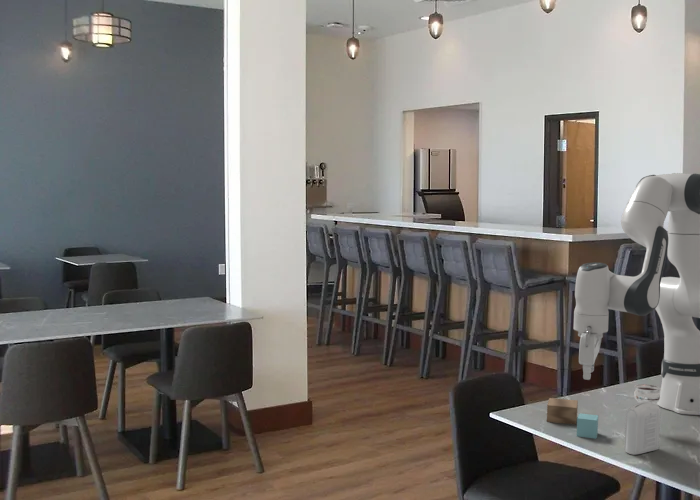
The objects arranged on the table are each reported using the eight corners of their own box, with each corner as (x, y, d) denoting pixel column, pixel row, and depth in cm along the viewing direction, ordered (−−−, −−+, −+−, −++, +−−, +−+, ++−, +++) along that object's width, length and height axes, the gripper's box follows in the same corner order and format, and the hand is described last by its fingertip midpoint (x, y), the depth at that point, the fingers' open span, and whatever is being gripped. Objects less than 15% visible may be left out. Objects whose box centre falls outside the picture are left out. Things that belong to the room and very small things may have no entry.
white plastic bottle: (647, 444, 205) (649, 398, 204) (661, 449, 202) (663, 401, 201) (621, 451, 200) (623, 403, 199) (636, 456, 196) (637, 407, 195)
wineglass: (627, 427, 219) (628, 385, 218) (646, 425, 222) (648, 383, 221) (644, 435, 213) (645, 391, 212) (664, 432, 215) (666, 389, 214)
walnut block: (577, 417, 230) (577, 400, 229) (576, 425, 222) (576, 407, 222) (548, 414, 232) (549, 397, 232) (546, 422, 225) (547, 405, 224)
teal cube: (597, 433, 215) (598, 415, 214) (596, 438, 210) (596, 420, 210) (578, 431, 217) (579, 413, 216) (576, 436, 212) (577, 418, 211)
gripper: (600, 331, 200) (597, 385, 201) (606, 319, 219) (603, 368, 220) (574, 329, 202) (572, 382, 203) (582, 317, 221) (580, 366, 222)
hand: (588, 375), depth 212 cm, fingers open, 8 cm apart
